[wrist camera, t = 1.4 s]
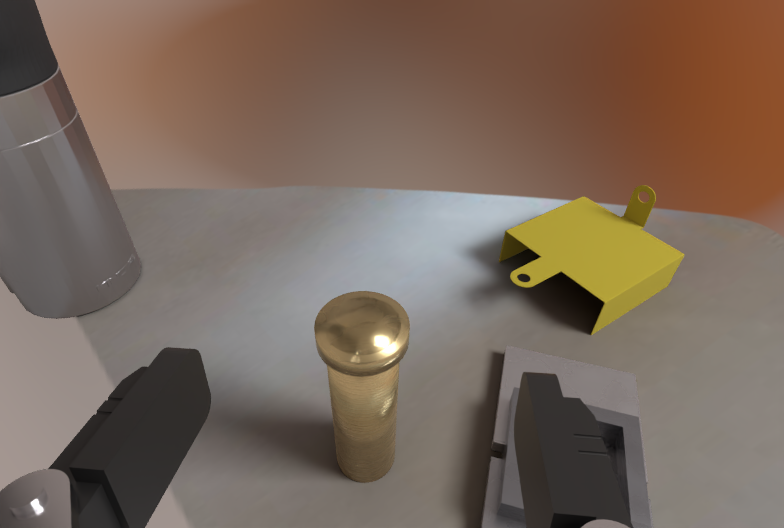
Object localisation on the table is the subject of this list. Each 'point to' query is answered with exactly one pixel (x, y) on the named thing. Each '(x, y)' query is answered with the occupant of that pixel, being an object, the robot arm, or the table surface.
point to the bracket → (597, 252)
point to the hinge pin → (363, 378)
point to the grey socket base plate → (614, 418)
